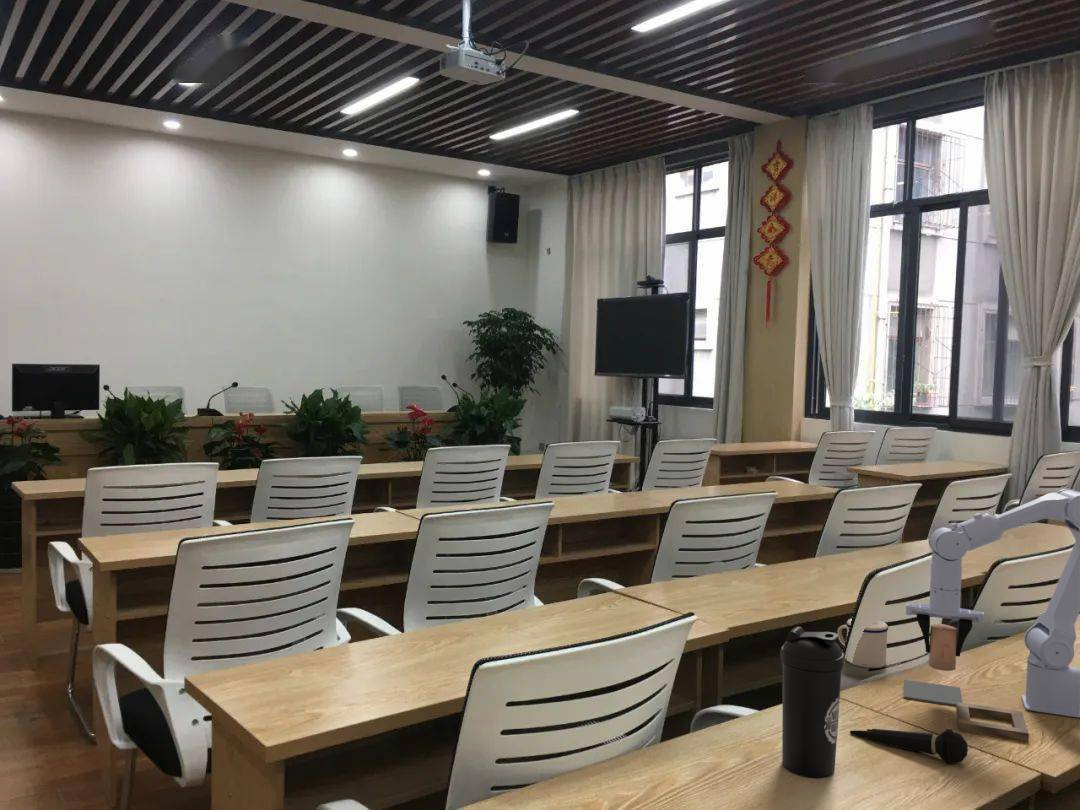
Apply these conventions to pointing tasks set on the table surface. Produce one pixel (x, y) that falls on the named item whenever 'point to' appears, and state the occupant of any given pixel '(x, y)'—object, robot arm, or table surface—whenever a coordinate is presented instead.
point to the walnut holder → (1014, 732)
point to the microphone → (921, 742)
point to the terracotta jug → (943, 647)
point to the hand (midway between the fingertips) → (942, 653)
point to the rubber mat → (932, 692)
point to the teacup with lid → (869, 645)
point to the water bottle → (810, 702)
